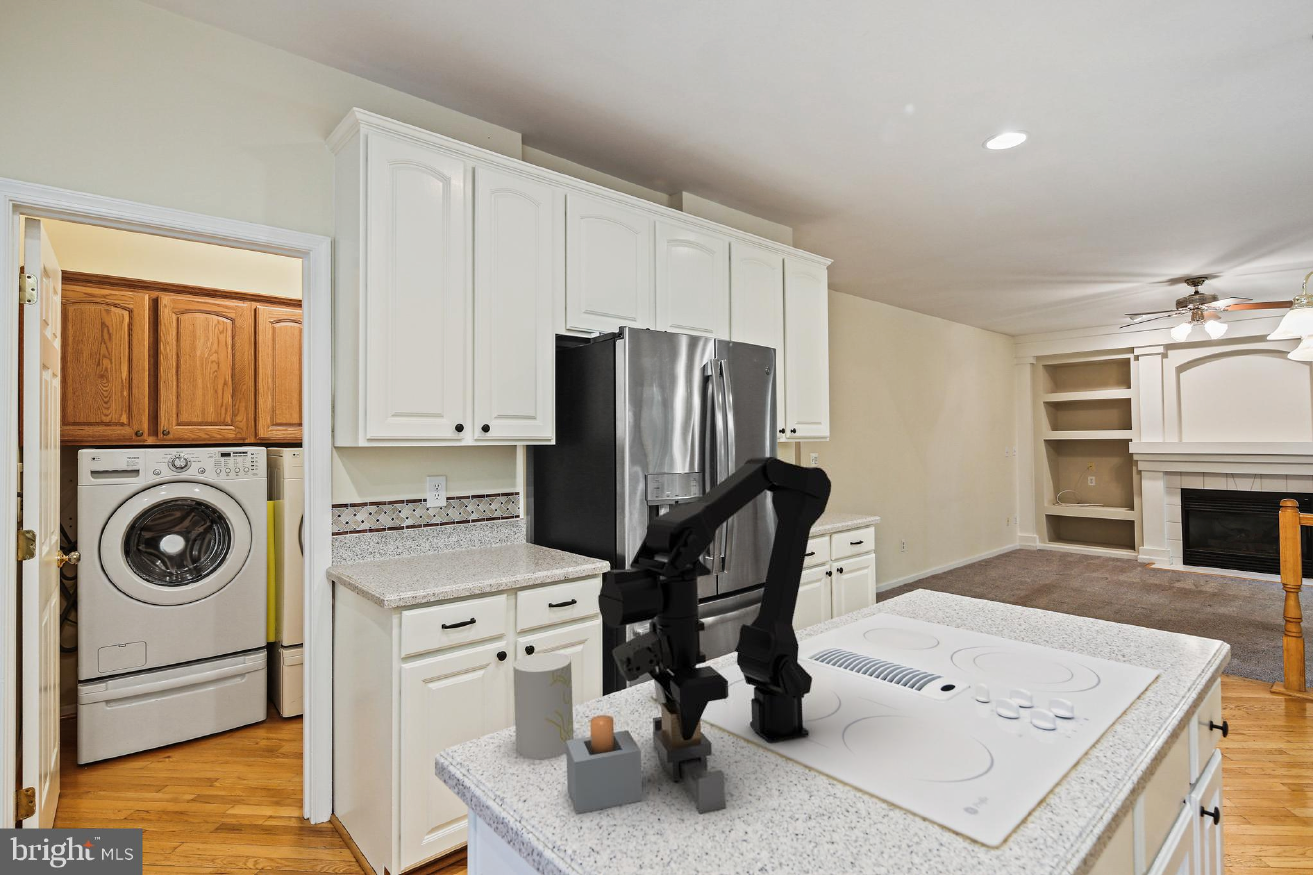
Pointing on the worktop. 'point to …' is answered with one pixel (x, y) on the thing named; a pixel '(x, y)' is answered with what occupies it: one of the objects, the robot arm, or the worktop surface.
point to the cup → (543, 705)
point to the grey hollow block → (603, 773)
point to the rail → (700, 781)
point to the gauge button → (602, 734)
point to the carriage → (678, 742)
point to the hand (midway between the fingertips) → (681, 732)
